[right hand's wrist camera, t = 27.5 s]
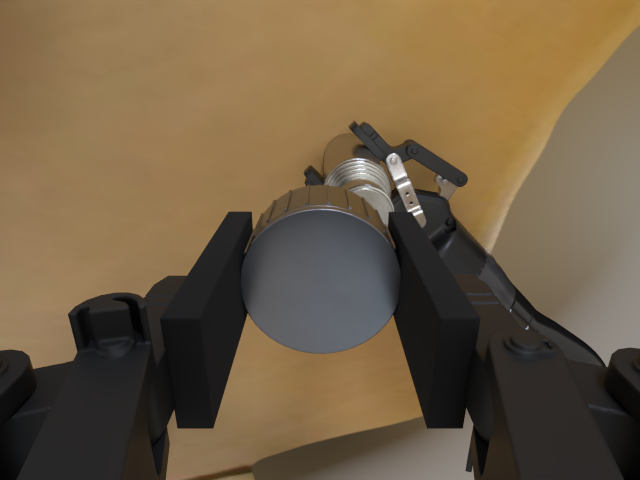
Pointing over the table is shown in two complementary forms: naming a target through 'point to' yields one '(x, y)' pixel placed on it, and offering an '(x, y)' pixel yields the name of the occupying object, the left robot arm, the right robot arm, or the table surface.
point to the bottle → (358, 172)
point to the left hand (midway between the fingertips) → (330, 147)
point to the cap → (320, 270)
